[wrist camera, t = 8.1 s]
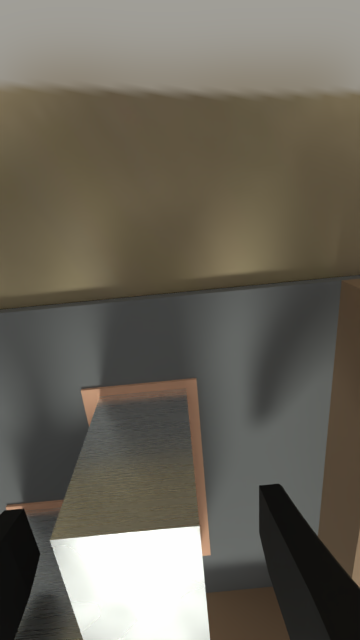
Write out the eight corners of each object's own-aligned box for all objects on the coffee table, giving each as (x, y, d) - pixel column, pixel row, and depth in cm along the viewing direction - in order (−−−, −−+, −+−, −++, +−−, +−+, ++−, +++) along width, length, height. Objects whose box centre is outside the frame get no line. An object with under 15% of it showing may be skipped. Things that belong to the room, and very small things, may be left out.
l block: (200, 545, 14) (217, 721, 9) (40, 560, 14) (-25, 744, 9) (186, 387, 11) (199, 525, 6) (-16, 406, 11) (-151, 559, 6)
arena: (-64, 625, 16) (-112, 712, 13) (-242, 332, 10) (-387, 379, 8) (332, 586, 16) (366, 665, 13) (371, 273, 10) (444, 300, 8)
